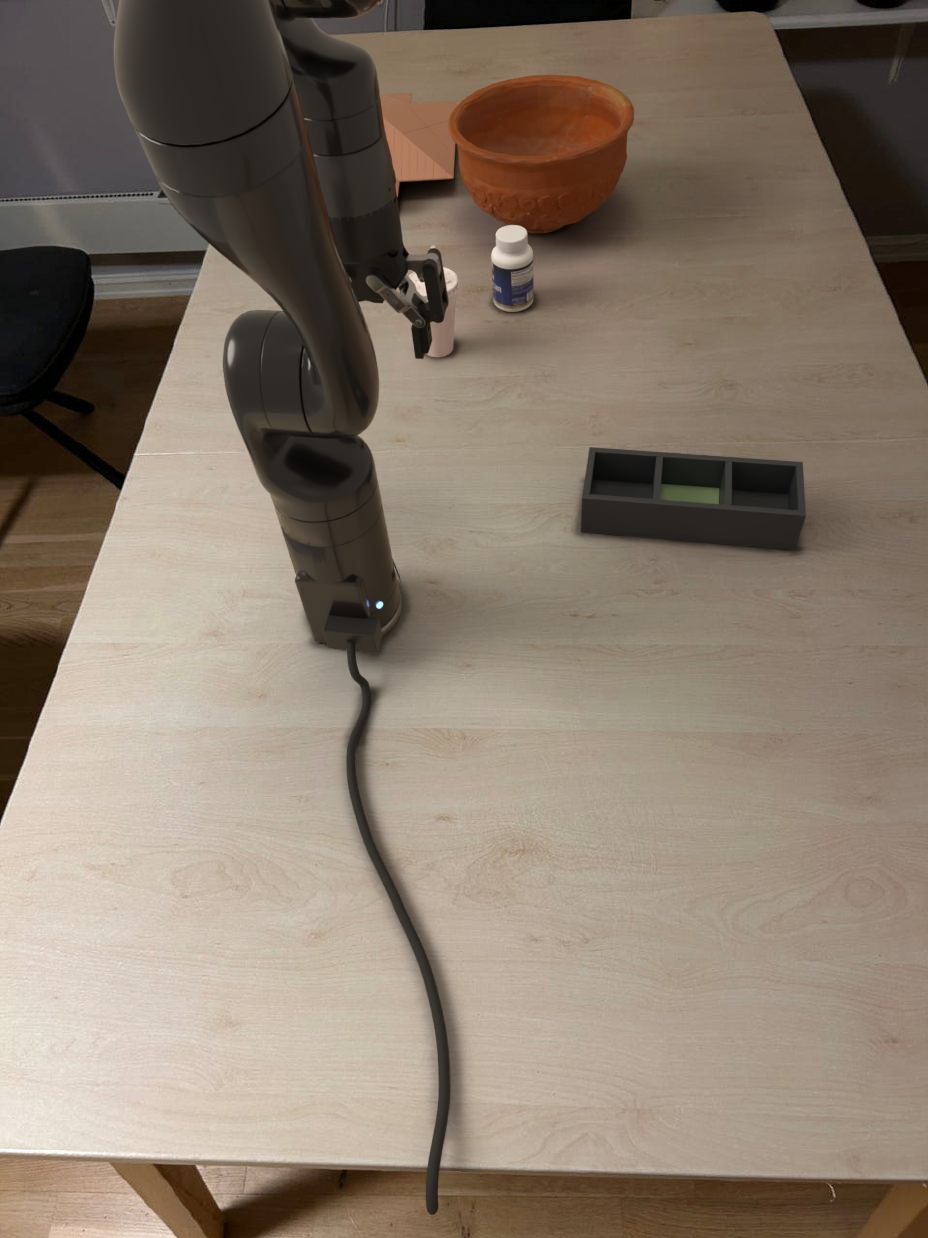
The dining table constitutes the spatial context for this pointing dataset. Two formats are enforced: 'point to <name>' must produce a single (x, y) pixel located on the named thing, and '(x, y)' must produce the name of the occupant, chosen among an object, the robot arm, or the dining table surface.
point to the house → (418, 138)
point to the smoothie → (444, 330)
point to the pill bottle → (512, 269)
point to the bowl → (542, 148)
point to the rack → (694, 498)
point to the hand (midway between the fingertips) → (378, 351)
